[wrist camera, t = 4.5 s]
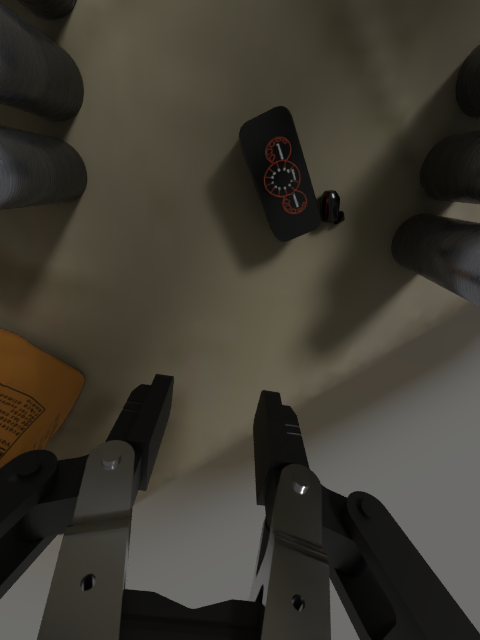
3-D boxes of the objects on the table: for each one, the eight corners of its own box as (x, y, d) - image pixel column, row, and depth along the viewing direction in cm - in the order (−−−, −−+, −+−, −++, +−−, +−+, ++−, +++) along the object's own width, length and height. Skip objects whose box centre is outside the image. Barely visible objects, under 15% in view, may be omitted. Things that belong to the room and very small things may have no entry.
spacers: (-2, -93, 14) (-369, -505, 5) (540, 44, 15) (869, -108, 7) (31, 196, 19) (-128, 207, 11) (431, 271, 21) (552, 329, 13)
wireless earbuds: (277, 246, 20) (282, 257, 17) (236, 136, 18) (235, 127, 15) (342, 219, 20) (359, 226, 17) (310, 98, 17) (325, 81, 14)
